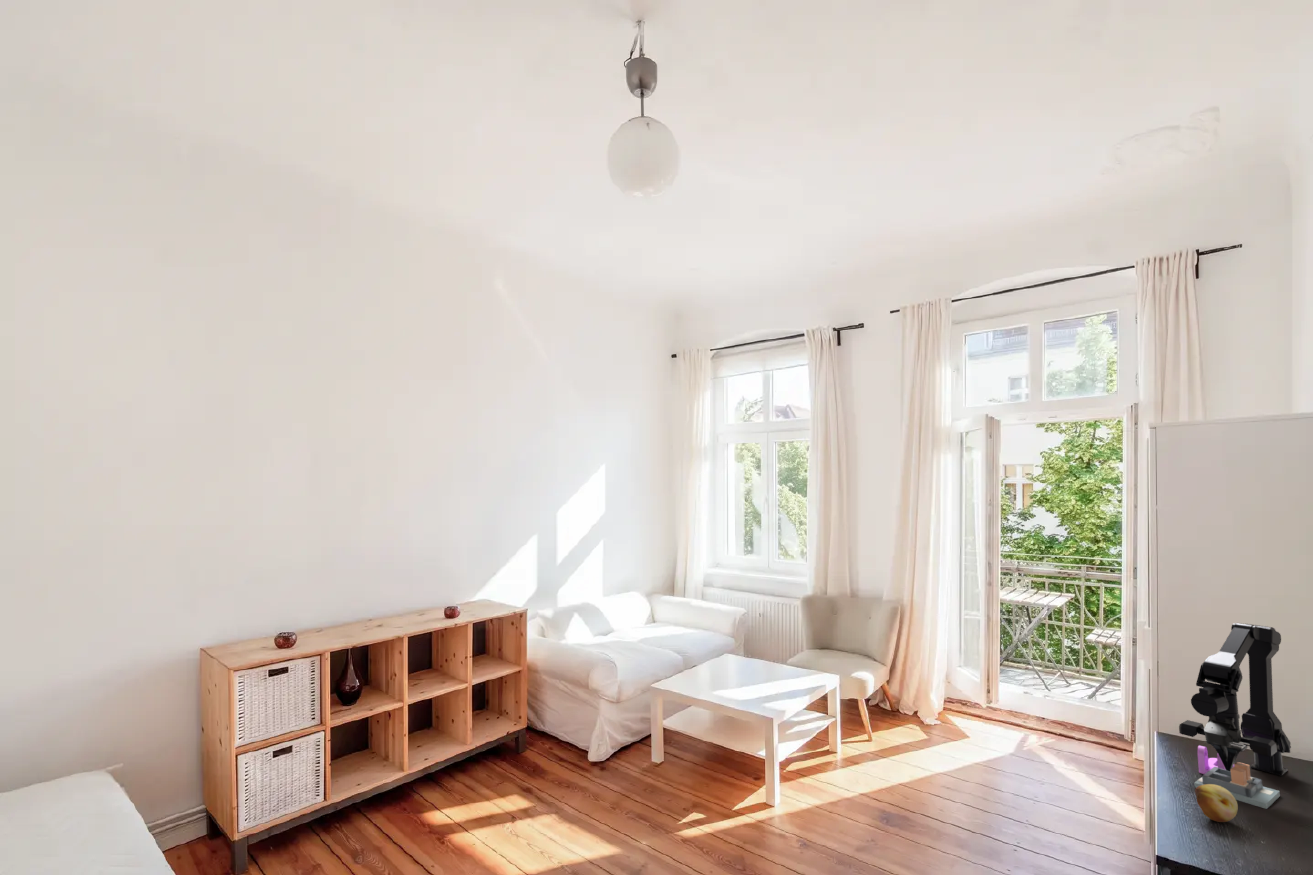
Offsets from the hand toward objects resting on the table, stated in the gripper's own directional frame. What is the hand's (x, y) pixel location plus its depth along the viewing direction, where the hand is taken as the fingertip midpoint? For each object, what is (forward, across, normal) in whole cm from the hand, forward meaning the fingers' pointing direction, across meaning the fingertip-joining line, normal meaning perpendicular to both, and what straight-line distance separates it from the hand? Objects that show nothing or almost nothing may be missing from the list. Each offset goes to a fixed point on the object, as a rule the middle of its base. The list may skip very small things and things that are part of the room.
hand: (1228, 770), depth 167 cm
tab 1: (+2, +3, 0) cm, 4 cm away
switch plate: (+4, +2, -2) cm, 5 cm away
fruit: (+4, +4, -26) cm, 26 cm away
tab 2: (+3, +3, -5) cm, 6 cm away
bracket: (+4, -5, +10) cm, 12 cm away
